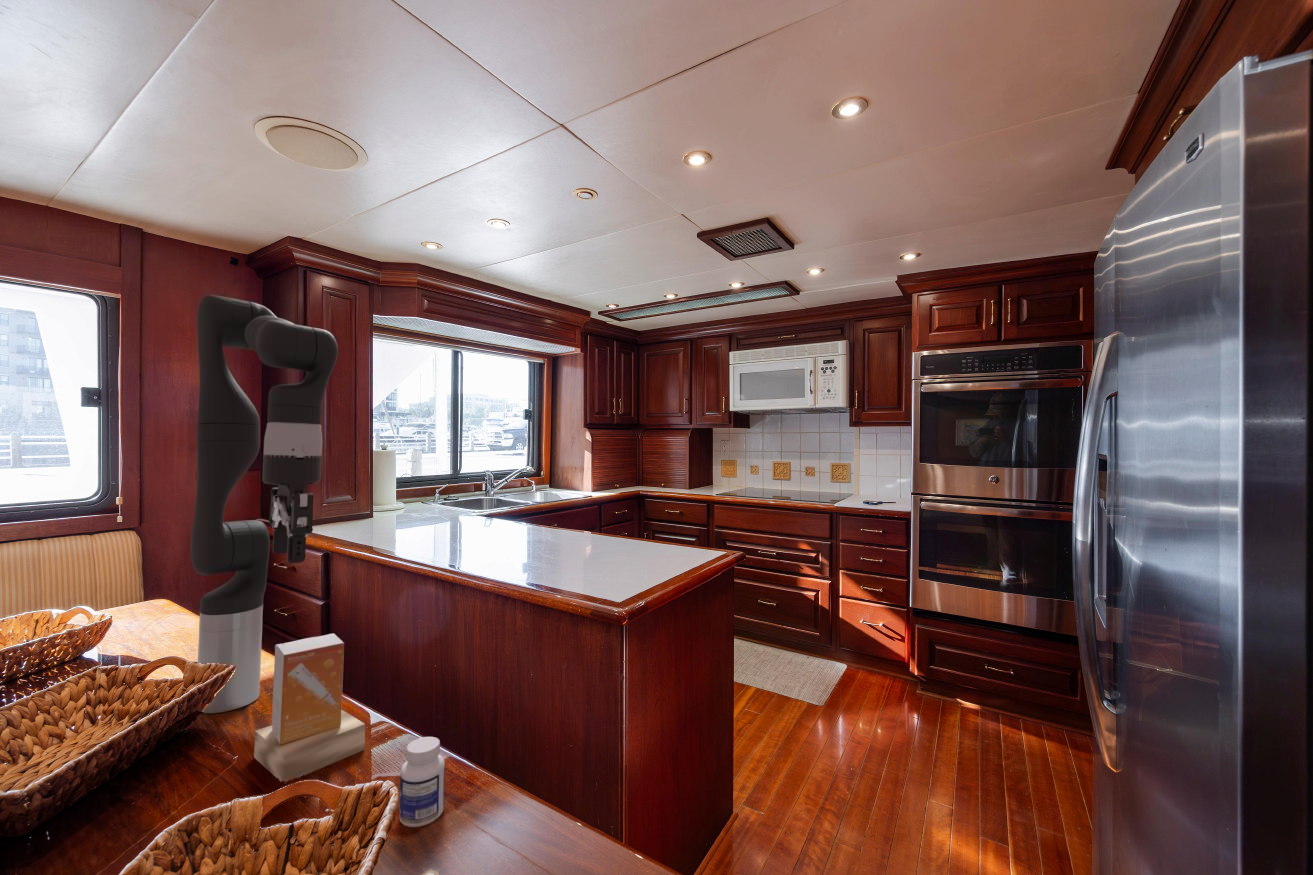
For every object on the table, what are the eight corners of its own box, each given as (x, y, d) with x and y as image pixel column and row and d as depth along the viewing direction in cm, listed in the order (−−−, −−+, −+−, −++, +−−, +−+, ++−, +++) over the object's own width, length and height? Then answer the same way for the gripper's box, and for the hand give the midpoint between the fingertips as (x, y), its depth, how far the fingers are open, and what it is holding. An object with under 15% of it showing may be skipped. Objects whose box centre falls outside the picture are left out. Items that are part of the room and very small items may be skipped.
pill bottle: (411, 800, 72) (413, 732, 72) (450, 801, 71) (452, 733, 72) (390, 827, 66) (392, 754, 67) (432, 829, 66) (434, 755, 66)
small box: (279, 746, 77) (282, 654, 78) (271, 730, 82) (274, 643, 82) (342, 726, 83) (345, 641, 83) (331, 712, 87) (333, 631, 88)
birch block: (253, 760, 81) (255, 730, 81) (331, 731, 90) (332, 704, 90) (283, 787, 75) (284, 755, 75) (364, 753, 84) (365, 723, 84)
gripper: (253, 451, 85) (248, 553, 85) (275, 453, 75) (269, 569, 75) (308, 452, 91) (303, 548, 90) (335, 454, 81) (330, 562, 81)
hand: (288, 557), depth 83 cm, fingers open, 8 cm apart
